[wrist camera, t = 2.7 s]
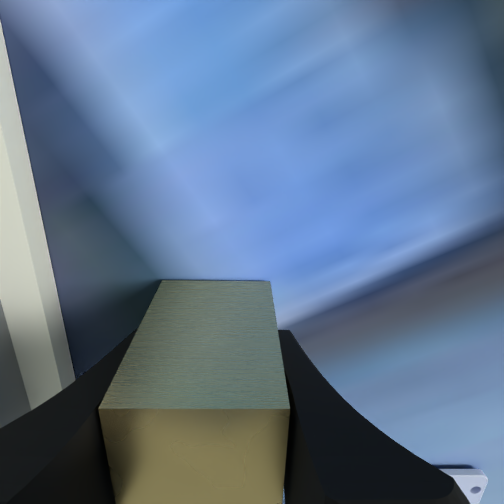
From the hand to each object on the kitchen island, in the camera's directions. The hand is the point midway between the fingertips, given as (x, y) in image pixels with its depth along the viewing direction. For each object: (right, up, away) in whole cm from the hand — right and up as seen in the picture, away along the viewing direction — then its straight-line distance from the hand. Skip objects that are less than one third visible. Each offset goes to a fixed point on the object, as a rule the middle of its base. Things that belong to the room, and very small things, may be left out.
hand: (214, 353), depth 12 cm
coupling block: (0, +1, +2) cm, 2 cm away
